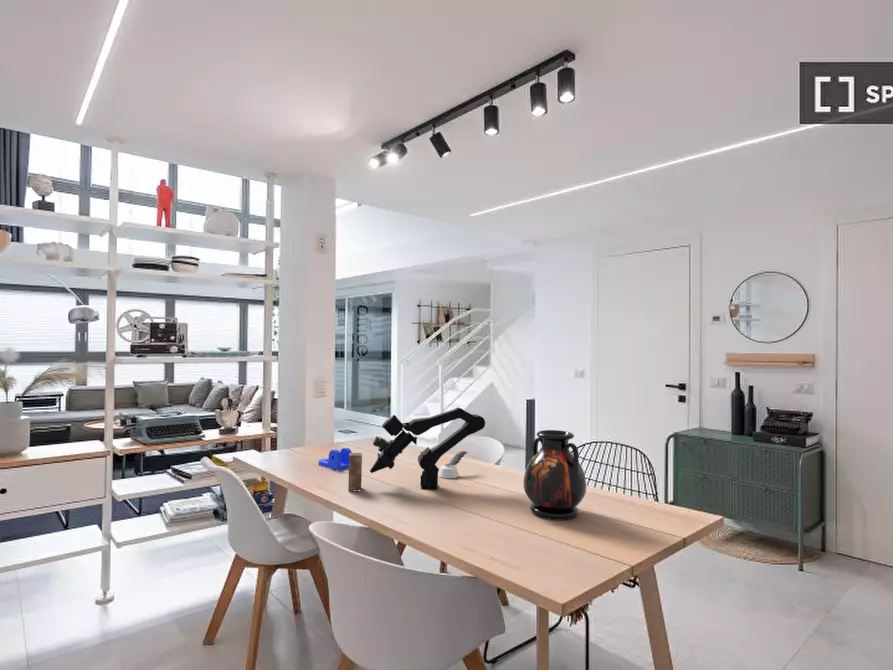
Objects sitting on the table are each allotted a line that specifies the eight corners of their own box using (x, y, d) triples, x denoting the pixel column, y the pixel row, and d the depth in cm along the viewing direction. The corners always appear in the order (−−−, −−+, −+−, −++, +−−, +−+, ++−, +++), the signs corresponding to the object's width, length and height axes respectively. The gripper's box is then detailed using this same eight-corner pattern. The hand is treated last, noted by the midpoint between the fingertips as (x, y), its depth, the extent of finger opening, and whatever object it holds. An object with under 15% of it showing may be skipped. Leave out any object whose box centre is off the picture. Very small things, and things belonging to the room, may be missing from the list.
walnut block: (361, 487, 210) (361, 452, 210) (361, 491, 205) (362, 455, 205) (348, 488, 209) (349, 452, 209) (348, 491, 204) (349, 455, 204)
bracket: (352, 468, 243) (352, 448, 244) (337, 471, 237) (337, 451, 237) (329, 461, 256) (330, 443, 256) (315, 464, 250) (315, 445, 250)
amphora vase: (510, 511, 183) (511, 431, 184) (549, 500, 197) (550, 426, 197) (559, 528, 166) (560, 440, 167) (598, 515, 180) (599, 434, 181)
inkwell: (433, 476, 230) (434, 453, 231) (458, 469, 244) (459, 448, 244) (450, 480, 224) (450, 456, 225) (474, 472, 238) (475, 450, 239)
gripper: (384, 426, 218) (356, 453, 216) (386, 433, 200) (356, 463, 198) (402, 445, 220) (375, 471, 218) (406, 454, 201) (376, 483, 199)
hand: (370, 472), depth 208 cm, fingers closed
